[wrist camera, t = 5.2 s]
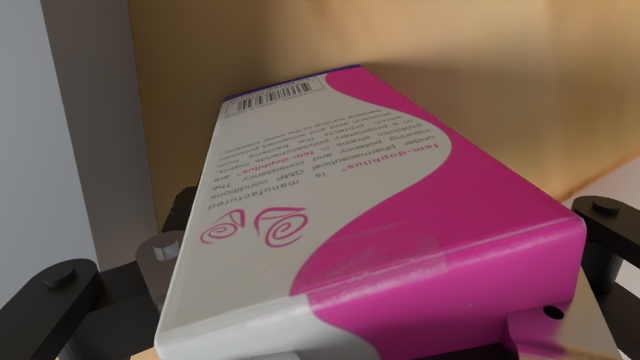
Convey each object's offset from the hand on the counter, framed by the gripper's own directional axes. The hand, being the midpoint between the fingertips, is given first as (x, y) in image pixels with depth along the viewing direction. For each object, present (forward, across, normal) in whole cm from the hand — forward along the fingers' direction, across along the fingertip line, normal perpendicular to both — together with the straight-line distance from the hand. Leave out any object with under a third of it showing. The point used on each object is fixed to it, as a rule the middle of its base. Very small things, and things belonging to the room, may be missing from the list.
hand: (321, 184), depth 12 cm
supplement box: (+4, 0, 0) cm, 4 cm away
